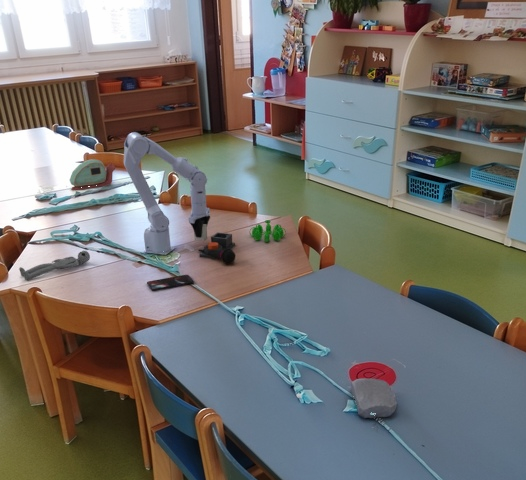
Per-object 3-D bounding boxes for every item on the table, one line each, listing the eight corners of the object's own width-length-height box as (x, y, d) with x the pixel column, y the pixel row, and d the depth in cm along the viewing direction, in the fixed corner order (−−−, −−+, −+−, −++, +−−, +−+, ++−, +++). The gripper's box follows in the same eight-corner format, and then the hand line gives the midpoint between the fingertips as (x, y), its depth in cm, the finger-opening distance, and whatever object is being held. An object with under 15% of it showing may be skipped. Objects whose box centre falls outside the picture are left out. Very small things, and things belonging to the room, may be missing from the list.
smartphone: (194, 281, 198) (151, 289, 192) (194, 283, 198) (152, 291, 193) (187, 274, 203) (146, 281, 198) (187, 275, 204) (146, 283, 198)
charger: (194, 240, 228) (193, 225, 225) (198, 237, 231) (197, 222, 228) (203, 241, 227) (202, 226, 224) (207, 238, 230) (206, 223, 227)
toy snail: (73, 191, 299) (68, 164, 292) (69, 188, 305) (64, 161, 298) (119, 184, 311) (116, 158, 304) (114, 181, 316) (111, 155, 309)
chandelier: (266, 246, 228) (266, 229, 225) (242, 237, 238) (241, 220, 234) (293, 237, 237) (293, 221, 233) (269, 228, 246) (269, 213, 243)
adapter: (199, 257, 219) (199, 249, 218) (217, 243, 232) (216, 236, 230) (218, 259, 217) (218, 252, 215) (235, 245, 230) (235, 238, 228)
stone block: (384, 394, 144) (346, 389, 142) (390, 378, 141) (351, 374, 139) (397, 425, 134) (356, 420, 132) (404, 409, 131) (362, 404, 129)
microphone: (196, 260, 224) (230, 268, 210) (191, 247, 220) (224, 254, 207) (206, 252, 226) (240, 259, 213) (200, 240, 223) (235, 246, 209)
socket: (211, 249, 226) (210, 237, 224) (217, 244, 231) (217, 232, 228) (226, 251, 224) (226, 239, 222) (232, 246, 229) (232, 234, 226)
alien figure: (16, 264, 203) (84, 246, 215) (20, 277, 206) (86, 258, 218) (23, 271, 198) (92, 252, 210) (27, 284, 200) (95, 265, 212)
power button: (206, 249, 219) (206, 245, 218) (210, 245, 222) (210, 241, 221) (215, 250, 218) (215, 246, 217) (220, 247, 221) (220, 242, 220)
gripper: (199, 207, 214) (201, 242, 221) (216, 197, 226) (217, 231, 233) (182, 206, 216) (185, 240, 223) (199, 195, 228) (201, 229, 235)
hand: (200, 235), depth 228 cm, fingers closed on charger, 3 cm apart
